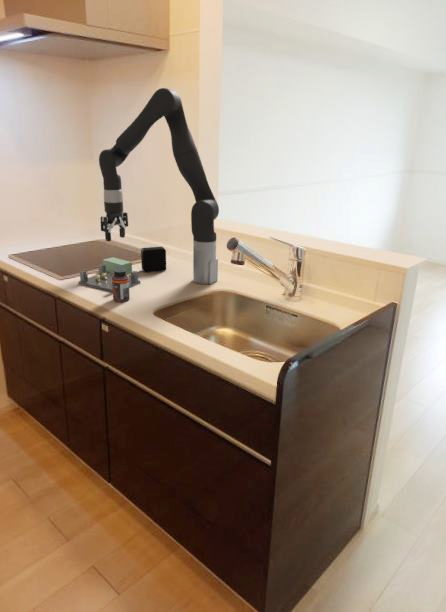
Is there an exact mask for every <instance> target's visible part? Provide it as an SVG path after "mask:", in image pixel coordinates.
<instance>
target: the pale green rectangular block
mask: <svg viewBox="0 0 446 612" xmlns="http://www.w3.org/2000/svg"><path fill="white" fill-rule="evenodd" d="M102 264H103V265H105V266H106V273H111V274H114V270H116V269H125V271H126V275H127V276H128V275H131V272H132V271H133V265H132V262H131V261H128V260H124V259H121V258H117V257H109V258H104V259H102Z"/></svg>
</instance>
